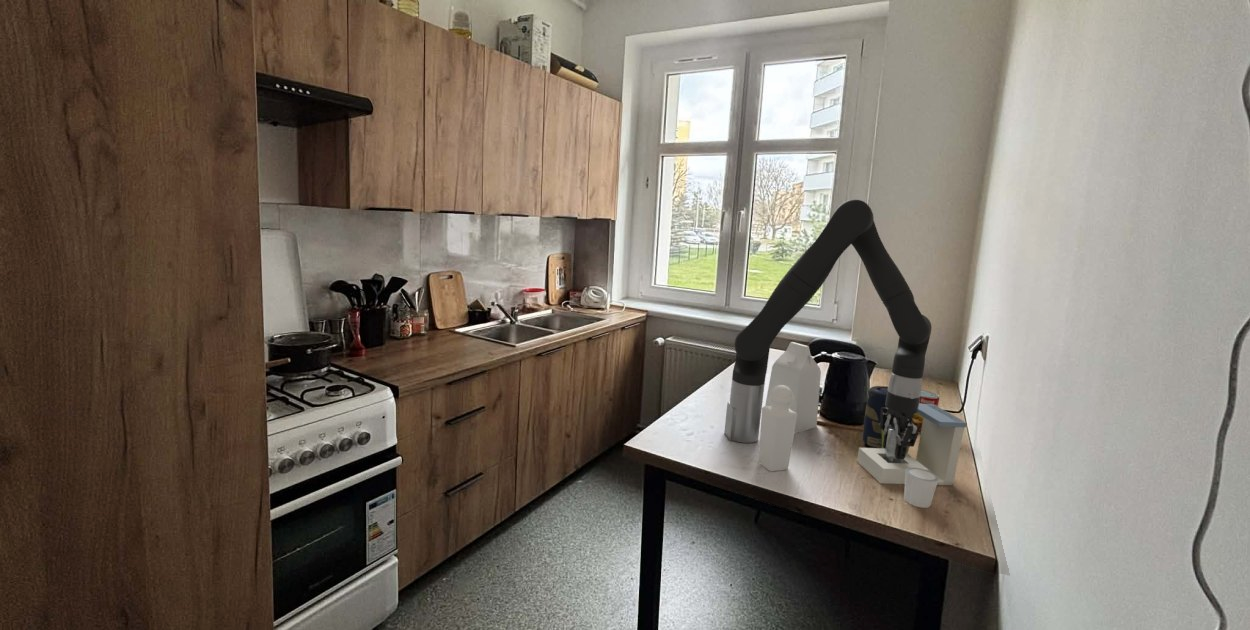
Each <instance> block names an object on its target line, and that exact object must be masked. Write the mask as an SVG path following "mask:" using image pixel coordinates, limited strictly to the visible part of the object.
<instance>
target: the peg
mask: <svg viewBox="0 0 1250 630" xmlns="http://www.w3.org/2000/svg"><path fill="white" fill-rule="evenodd" d="M900 433H906V431H900ZM903 439H904V436H902V441H903ZM897 444H898V439H897V436H896V435H895V429H894V428H892V427H889V430H888V436H887V442H886V448H885V454H884V460H885V461H887V462H888V463H901V459H897V458H896V457H895V454H896V448H897Z"/></svg>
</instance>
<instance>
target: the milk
mask: <svg viewBox="0 0 1250 630" xmlns="http://www.w3.org/2000/svg"><path fill="white" fill-rule="evenodd" d="M810 350H811V349H810V346H809V345H805V344H802V343H798V342H794V341H791V342H790V343H789V344H788V346H787V348H786V350H785V351H784V352H783V353H782V354H781V355H780V356H779V357H778V358H777V359H776V360H775V361H774V363H773V364H772V366H771V371H770V377H769V383H768V387H767V388H768V389H767V394H766V398H765V405H764V406H772V403H771V399H770V398H769V395H770V393H771V391H772V389H773V388H774V387H776V386H778V385H785V386H787V387H788V388H790V390H791V391H792V394H793V398H794V401H793V402H792V403H791V404H790V406H789V409H790V410H792V411H794V412H796V413H797V422H796V427H795V433H794V434H797V433H799V432H803V431H807V430H811V429H814V428H817V425H818V413H819V403H820V402H819V401H820V388H821V377H822V371H821V368H820V367H819V365H818V363H817V362H816V361H815V359H814V358H813V357H812V354H811V351H810Z"/></svg>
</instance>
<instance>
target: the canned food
mask: <svg viewBox="0 0 1250 630" xmlns="http://www.w3.org/2000/svg"><path fill="white" fill-rule="evenodd" d="M939 402H940V395H939V394H938V393H936V392H932V391H929V390H924V389H921V395H920V401H919V404H934V405H936V406H937V407H939ZM923 418H924V417H923V416H921V415H919V414H918V413H914V414H913V415H912V419H913V424H914V425H915V426H919V427H920V430H919V433H918V434H921V429H922V424H923Z"/></svg>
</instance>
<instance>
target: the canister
mask: <svg viewBox="0 0 1250 630" xmlns="http://www.w3.org/2000/svg"><path fill="white" fill-rule="evenodd" d="M887 390H888V385H887V386H885V385H875V386H871V387H869V388H868V393H867V397H866V398H867V400H866V404H865V413H864V418H863V419H864V420H863V430H862V436H861V439H862V442H863V443H865V444H866V445H867V446H870V448H882V431H881V429H880V413H881V407H886V406H885V402H886V396H887ZM886 408H887V407H886ZM885 423H886V421H884V425H885Z"/></svg>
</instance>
